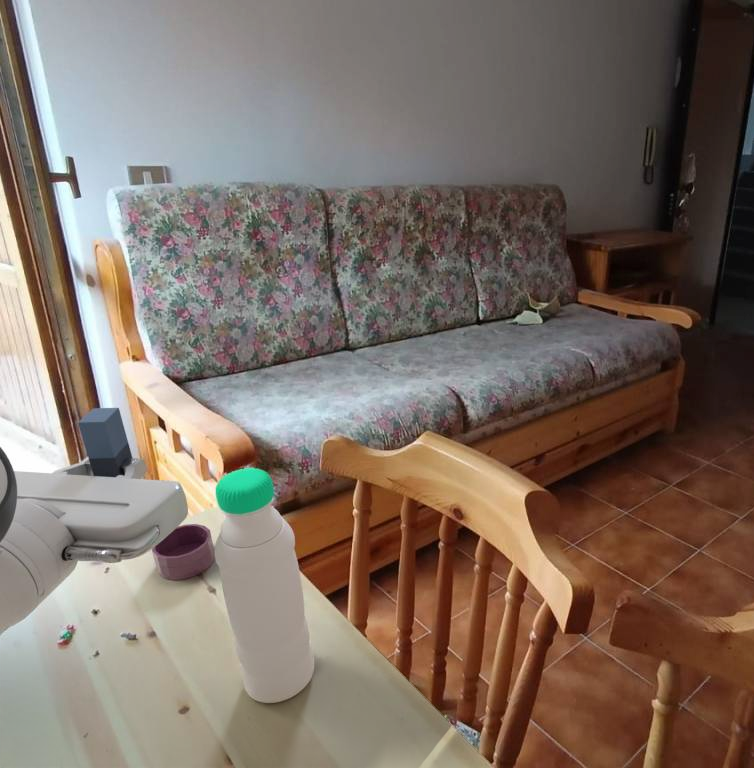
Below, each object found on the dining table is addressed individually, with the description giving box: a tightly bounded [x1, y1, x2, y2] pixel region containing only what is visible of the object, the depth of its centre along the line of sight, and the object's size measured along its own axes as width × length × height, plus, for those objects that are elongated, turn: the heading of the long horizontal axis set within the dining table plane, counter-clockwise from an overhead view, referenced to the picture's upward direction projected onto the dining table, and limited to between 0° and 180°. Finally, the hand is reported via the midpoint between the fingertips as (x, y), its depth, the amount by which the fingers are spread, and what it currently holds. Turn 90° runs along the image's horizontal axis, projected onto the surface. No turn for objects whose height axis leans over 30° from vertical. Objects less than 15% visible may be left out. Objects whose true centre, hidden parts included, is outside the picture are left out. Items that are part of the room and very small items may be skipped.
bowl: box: [151, 523, 216, 581], centre depth 82 cm, size 7×7×4 cm
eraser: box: [77, 407, 133, 477], centre depth 63 cm, size 2×3×13 cm
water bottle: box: [214, 467, 315, 704], centre depth 61 cm, size 7×7×25 cm
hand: (119, 462), depth 64 cm, fingers closed on eraser, 3 cm apart
